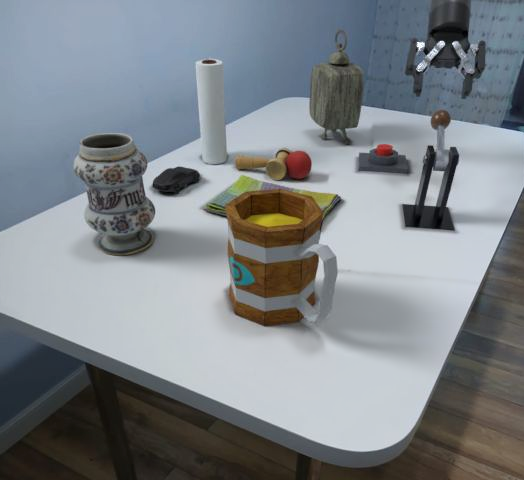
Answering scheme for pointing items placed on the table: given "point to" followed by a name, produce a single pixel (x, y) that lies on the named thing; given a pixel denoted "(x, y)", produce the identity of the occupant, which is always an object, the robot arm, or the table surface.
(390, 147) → the button
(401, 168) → the button box
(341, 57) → the tabletop clock
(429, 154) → the crank bracket
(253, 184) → the dish towel
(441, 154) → the crank
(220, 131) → the paper towel roll
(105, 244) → the apothecary jar
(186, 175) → the toy car
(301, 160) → the kendama
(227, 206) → the mug
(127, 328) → the table surface
